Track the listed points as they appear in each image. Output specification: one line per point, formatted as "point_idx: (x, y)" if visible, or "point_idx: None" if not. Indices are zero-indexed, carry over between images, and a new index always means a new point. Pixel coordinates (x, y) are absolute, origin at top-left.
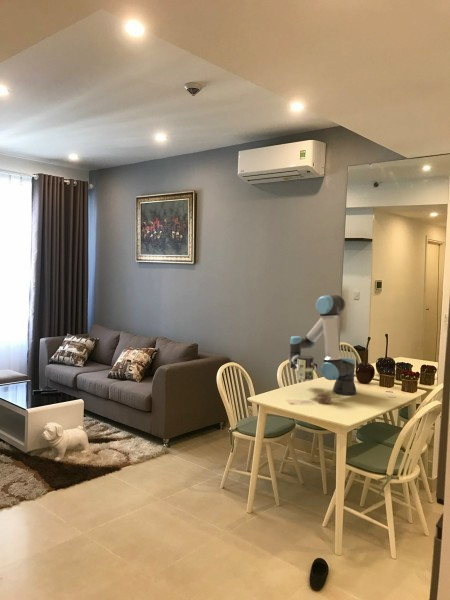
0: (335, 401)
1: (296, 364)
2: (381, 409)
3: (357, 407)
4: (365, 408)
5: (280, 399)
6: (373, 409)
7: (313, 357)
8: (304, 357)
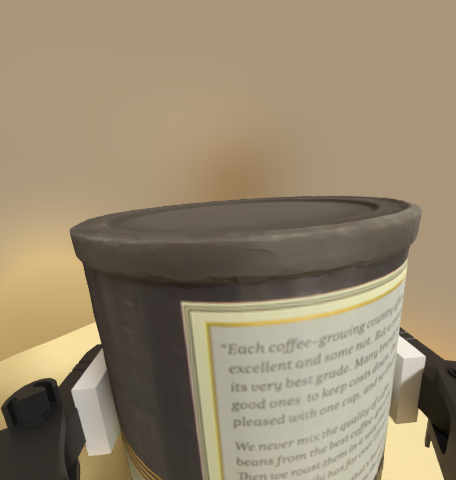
0: (85, 450)
1: (397, 346)
2: (14, 355)
3: (74, 366)
4: (57, 359)
5: (423, 463)
6: (42, 353)
7: (125, 212)
8: (257, 206)
